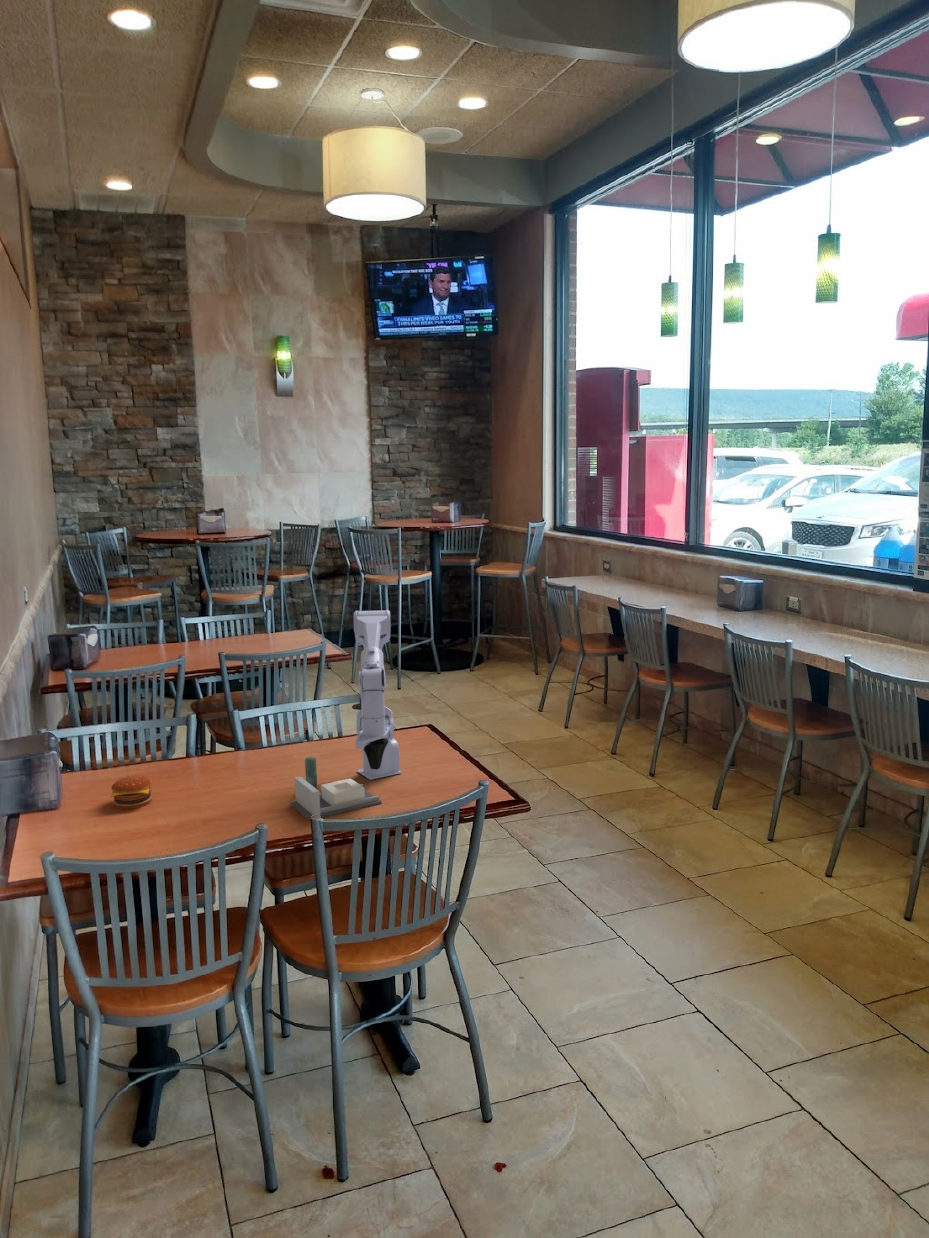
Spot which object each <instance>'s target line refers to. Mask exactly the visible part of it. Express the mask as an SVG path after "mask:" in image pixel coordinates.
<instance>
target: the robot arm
mask: <svg viewBox="0 0 929 1238" xmlns="http://www.w3.org/2000/svg"><path fill="white" fill-rule="evenodd" d="M391 625H392V624H391V611H390V610H389V609H385V610H355V611H354V612H353V632H354V638H355V641H356V643H357V644H360V645H362V646H363V650H362V651H361V652H360V670H359V671H358V689H359V695H360V696H359V697H360V700H361V703H360V704H361V709H360V710H358V711H357V714H356V740H355V741H354V742H355V745H354V746H355V749H357V750H358V749H359V750H362V767H363V768H361V769H357V772H358V773H359V774H360V775H361V776H364V777H365V778H366V779H368V780H371V781H372V780H376V779H381V778H385V777H390V776H394V775H399V774H402V771H401V763H400V762H401V761H400V760H401V759H400V758H401V757H400V747H399V743H398V741H397V740H396V739H395V735H394V734H395V733H394V731H395V730H394V727H395V726H394V718H393V717H394V715H393V714H394V713H393V711H392V710H391V709H390V708H389V707H387V706H386V705H385V702H386V701H385V692H386V688H387V687H386V685H387V684H386V683H387V682H386V681H387V680H386V679H387V677H386V670H385V665H384V652H383V649H384V645H386V644H387V643H389V642H390V639H391Z"/></svg>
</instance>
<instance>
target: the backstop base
mask: <svg viewBox="0 0 929 1238" xmlns="http://www.w3.org/2000/svg"><path fill="white" fill-rule="evenodd" d="M359 784H360V783H359ZM360 785H361V786H362V787H364V784H363V783H361V784H360ZM294 787H295V788H294V792H295V800H294V801H290V802H289V804H290V806H292V807H293V808H294V809H295V810H296V811H297V810H298V811H299V814H300V815H302V816H303V817H304V819H306V820H307V819H308V820H307V821H311V820H310V818H311V816H312V815H320V816H321V818H325V817H330V816H335V815H338V814H342V813H347V812H351V811H356V810H359V809H363V808H368V806H369V807H373V806H377V805H381V804H382V800H380V799H381V798H380V795H379V794H378V795H373V794H372V793H370V792H369V791H368V790H367V789H365V788H364V792H365V798H364V799H360V800H356V801H351V802H347V803H342V804H338V805H334V806H331V805H330V804H329V803H327V802H326V801H325V800H324V799H322V793H321V792H320V790H319V789H318V788H317V789H316V788H315V787H313V786H312V785H311V784H310V783H308V782H307V781H306V779H305V778H304V777H302V776H296V777H294ZM355 809H356V810H355ZM350 810H351V811H350ZM298 811H297V812H298Z"/></svg>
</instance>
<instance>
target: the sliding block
mask: <svg viewBox="0 0 929 1238" xmlns="http://www.w3.org/2000/svg"><path fill="white" fill-rule="evenodd" d="M320 786H321V787H320V788H321V791H320V793H322V799H324V800H325V801H326V802H327V803H329V804H330V805H331V806H334V805H338V804H342V803H347V802H351V801H356V800H360V799H364V798H365V792H364V789H365V787H364V786H363V787H362V786H361V785H360V783H358V782H357V781H355V780H354V779H352V778H345V779H342V780H337V781H332V782H327V783H321V784H320Z"/></svg>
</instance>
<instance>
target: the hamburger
mask: <svg viewBox="0 0 929 1238" xmlns="http://www.w3.org/2000/svg"><path fill="white" fill-rule="evenodd" d="M152 782H153V781H152V780H150V779H149V778H148V777H147V776H143V775H137V774H136V775H126V776H125V777H121V778H119V779H117V780H116V781H115V782H114V783H113V784H112V785H111V787H110V788H111V793H110V794H111V795H110V798H113V802H112V803H113V806H114V807H115V808H117V809H118V810H119V809H120V810H133V809H139V808H141V807H145V806H147V805H149V804H151V803H152V801H153V796H152V788H151V786H152V785H153V783H152Z"/></svg>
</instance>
